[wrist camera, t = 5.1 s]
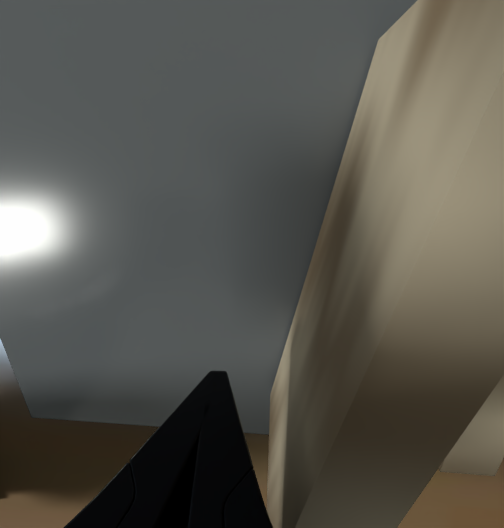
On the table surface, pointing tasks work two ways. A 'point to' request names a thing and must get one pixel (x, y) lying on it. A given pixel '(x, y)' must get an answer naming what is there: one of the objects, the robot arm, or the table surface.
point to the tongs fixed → (480, 439)
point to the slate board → (167, 191)
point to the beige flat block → (399, 281)
